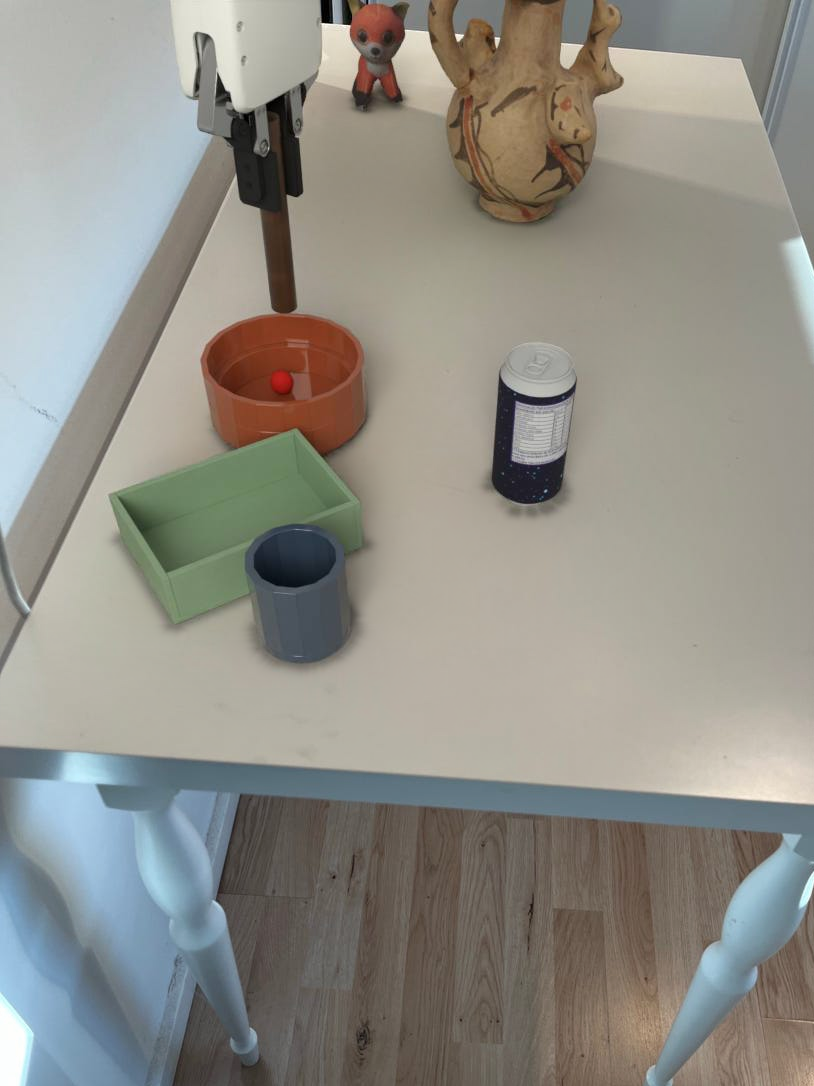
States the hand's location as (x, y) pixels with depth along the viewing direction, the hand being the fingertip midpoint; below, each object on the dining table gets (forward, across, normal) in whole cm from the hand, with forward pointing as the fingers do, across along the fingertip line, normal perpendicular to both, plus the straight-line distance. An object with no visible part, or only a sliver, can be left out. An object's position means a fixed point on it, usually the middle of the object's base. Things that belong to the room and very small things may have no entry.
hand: (271, 197), depth 69 cm
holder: (+19, +20, +14) cm, 31 cm away
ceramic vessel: (+18, -45, +2) cm, 49 cm away
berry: (+17, -2, -2) cm, 17 cm away
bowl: (+19, 0, 0) cm, 19 cm away
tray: (+19, +15, +5) cm, 25 cm away
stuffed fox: (+18, -63, -28) cm, 71 cm away
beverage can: (+19, -1, +21) cm, 29 cm away
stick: (+9, 0, 0) cm, 9 cm away
